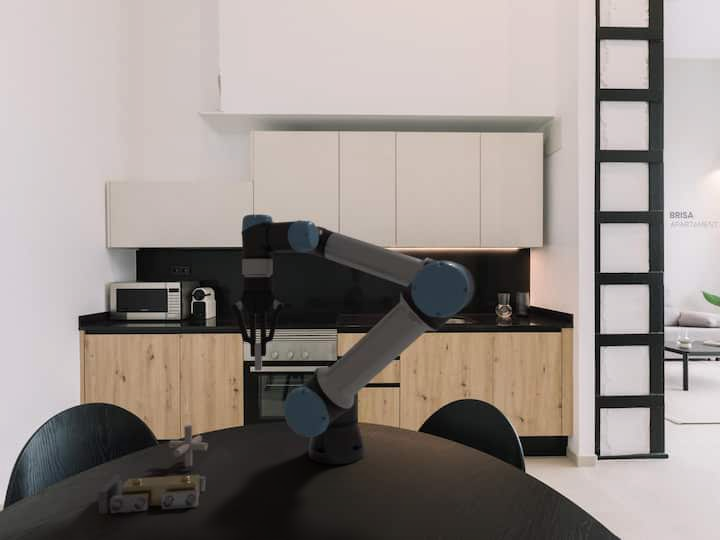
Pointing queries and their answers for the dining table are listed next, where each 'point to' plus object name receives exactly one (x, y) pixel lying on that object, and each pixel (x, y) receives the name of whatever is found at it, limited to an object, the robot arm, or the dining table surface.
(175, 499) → the chain end
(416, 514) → the dining table surface
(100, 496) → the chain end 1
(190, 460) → the pipe connector
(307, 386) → the robot arm
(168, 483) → the link
